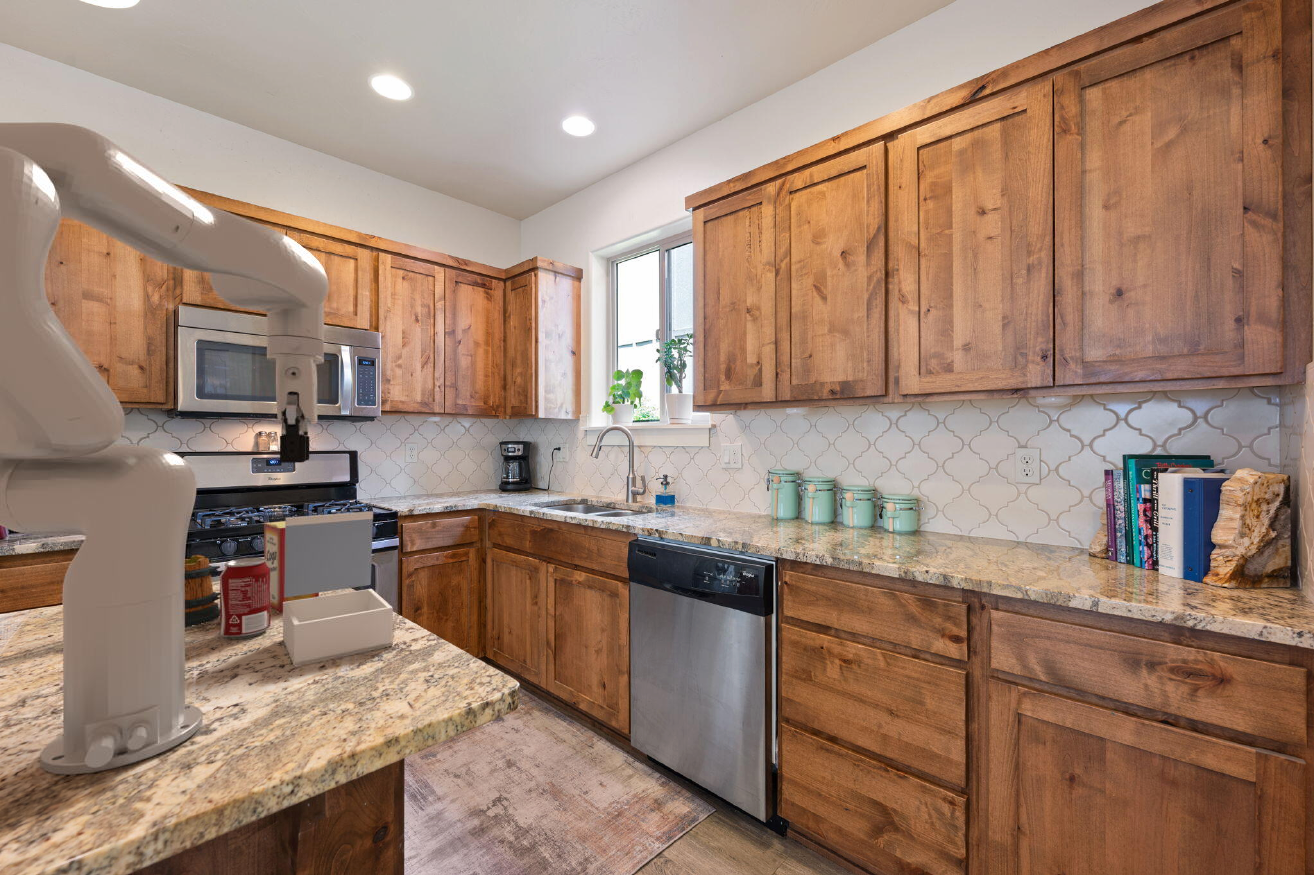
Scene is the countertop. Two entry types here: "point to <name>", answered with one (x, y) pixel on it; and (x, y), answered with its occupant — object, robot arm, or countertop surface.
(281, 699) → the countertop surface
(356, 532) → the lid
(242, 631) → the soda can
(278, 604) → the baking soda box
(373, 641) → the white open box
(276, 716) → the countertop surface
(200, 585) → the mug
